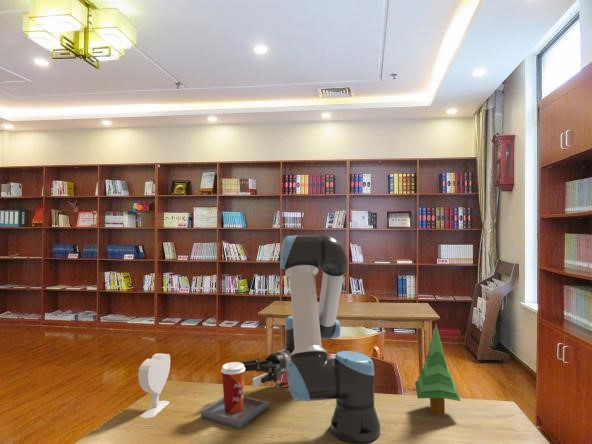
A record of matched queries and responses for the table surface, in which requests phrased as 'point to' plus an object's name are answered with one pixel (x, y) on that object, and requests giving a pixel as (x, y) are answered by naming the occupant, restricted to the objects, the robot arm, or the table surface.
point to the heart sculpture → (154, 381)
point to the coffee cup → (233, 386)
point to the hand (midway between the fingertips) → (238, 378)
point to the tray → (238, 420)
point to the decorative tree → (436, 378)
